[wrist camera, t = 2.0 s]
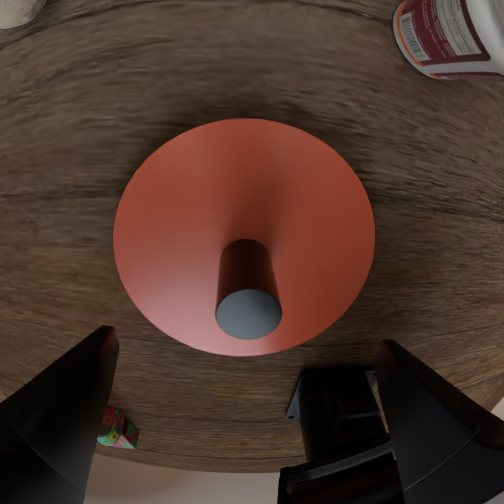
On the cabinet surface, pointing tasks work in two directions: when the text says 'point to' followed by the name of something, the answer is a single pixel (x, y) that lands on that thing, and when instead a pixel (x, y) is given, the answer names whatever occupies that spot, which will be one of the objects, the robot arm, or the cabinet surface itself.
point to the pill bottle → (452, 37)
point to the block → (117, 430)
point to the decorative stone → (18, 12)
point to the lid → (244, 237)
